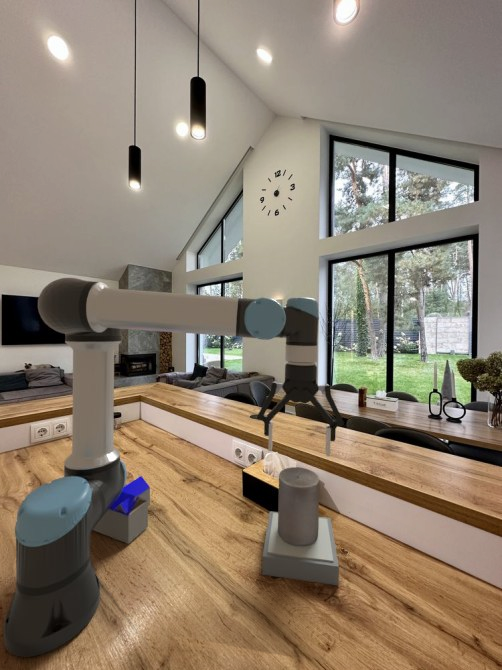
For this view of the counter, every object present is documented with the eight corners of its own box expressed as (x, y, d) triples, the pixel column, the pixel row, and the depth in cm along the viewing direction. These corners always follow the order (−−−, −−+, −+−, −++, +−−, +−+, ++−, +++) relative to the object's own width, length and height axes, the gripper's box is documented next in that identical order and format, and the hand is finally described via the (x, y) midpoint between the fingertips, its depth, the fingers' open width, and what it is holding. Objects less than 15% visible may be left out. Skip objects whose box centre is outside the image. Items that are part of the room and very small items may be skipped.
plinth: (338, 585, 61) (338, 565, 60) (262, 574, 63) (262, 554, 63) (330, 533, 76) (330, 516, 76) (269, 525, 79) (269, 510, 79)
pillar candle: (290, 514, 77) (291, 458, 77) (325, 530, 71) (326, 469, 71) (269, 534, 69) (270, 472, 69) (306, 554, 63) (307, 486, 63)
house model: (60, 517, 81) (59, 482, 81) (105, 490, 95) (105, 460, 95) (127, 544, 72) (127, 504, 72) (167, 509, 86) (167, 476, 85)
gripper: (352, 363, 71) (349, 449, 72) (251, 359, 75) (249, 441, 75) (358, 367, 64) (355, 463, 64) (247, 362, 68) (244, 453, 68)
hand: (298, 451), depth 70 cm, fingers open, 13 cm apart
